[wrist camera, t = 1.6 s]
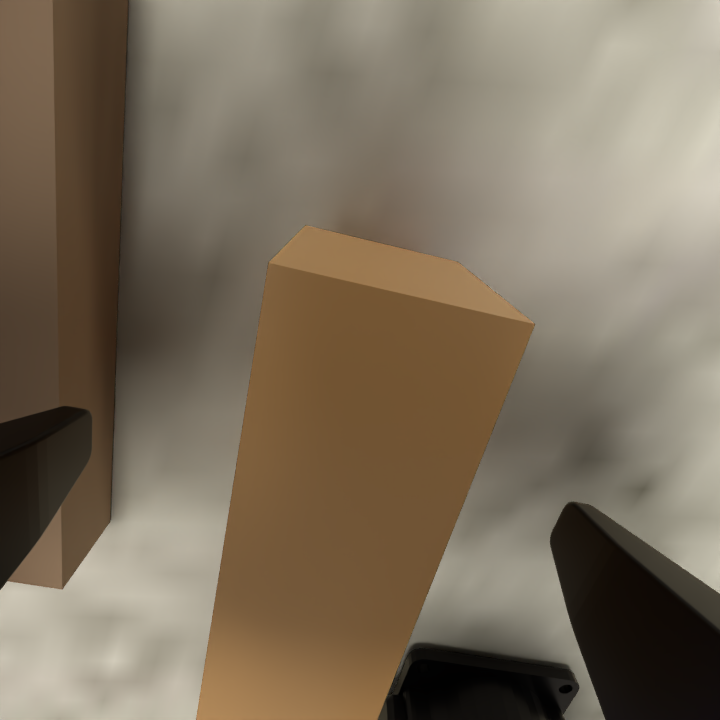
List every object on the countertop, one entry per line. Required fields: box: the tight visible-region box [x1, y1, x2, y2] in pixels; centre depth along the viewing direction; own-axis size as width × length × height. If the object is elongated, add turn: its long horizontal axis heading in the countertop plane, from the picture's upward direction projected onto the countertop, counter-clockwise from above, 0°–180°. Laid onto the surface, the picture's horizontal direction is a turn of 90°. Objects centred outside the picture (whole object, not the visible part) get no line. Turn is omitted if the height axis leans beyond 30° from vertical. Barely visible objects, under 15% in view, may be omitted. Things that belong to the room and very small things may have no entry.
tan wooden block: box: [196, 225, 535, 720], centre depth 9 cm, size 3×8×6 cm, turn 167°
